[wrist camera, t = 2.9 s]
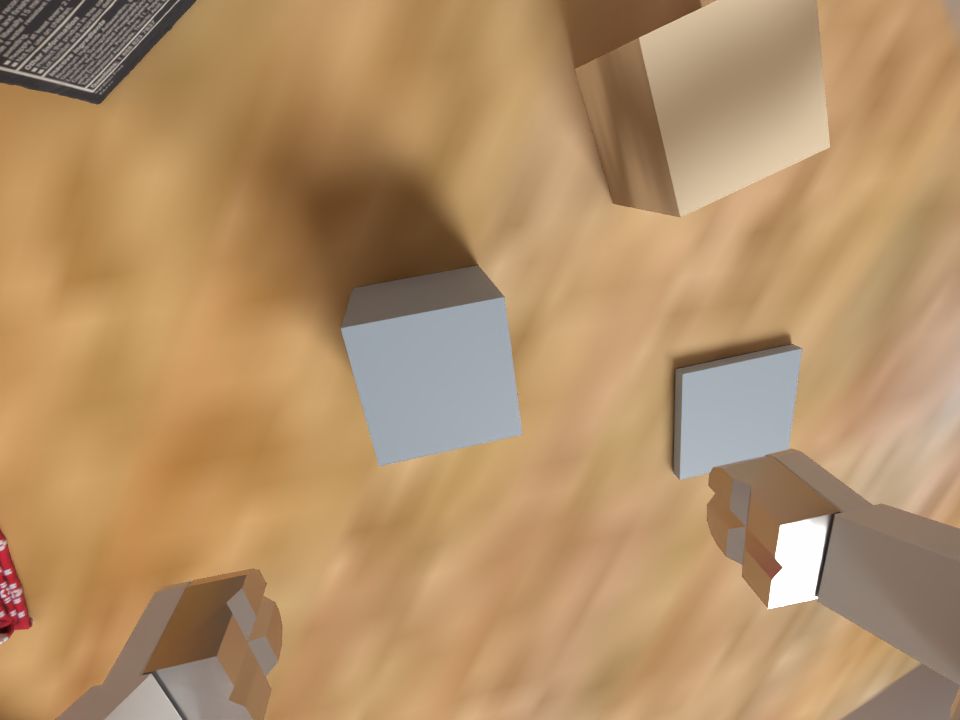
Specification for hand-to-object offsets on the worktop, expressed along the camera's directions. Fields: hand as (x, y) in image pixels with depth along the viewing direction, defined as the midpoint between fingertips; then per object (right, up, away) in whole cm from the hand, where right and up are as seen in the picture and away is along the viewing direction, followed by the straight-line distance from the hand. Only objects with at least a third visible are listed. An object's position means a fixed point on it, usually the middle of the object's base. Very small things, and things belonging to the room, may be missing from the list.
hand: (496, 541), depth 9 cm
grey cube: (-2, +4, +11) cm, 12 cm away
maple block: (+6, +13, +10) cm, 17 cm away
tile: (+12, +1, +15) cm, 20 cm away
